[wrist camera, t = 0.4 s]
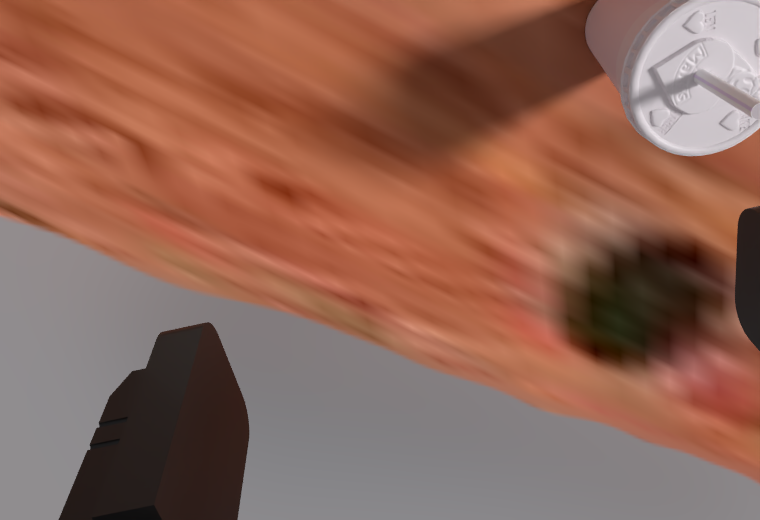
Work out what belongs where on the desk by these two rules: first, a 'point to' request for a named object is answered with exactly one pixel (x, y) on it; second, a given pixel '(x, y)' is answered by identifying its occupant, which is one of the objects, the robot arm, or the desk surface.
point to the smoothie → (682, 68)
